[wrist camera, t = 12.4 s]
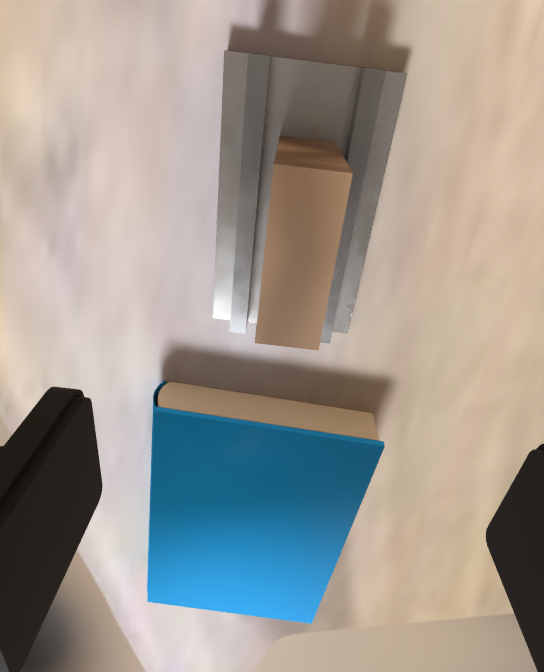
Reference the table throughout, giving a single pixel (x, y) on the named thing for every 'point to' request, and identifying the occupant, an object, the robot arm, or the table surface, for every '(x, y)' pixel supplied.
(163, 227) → the table surface
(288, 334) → the door panel
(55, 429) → the robot arm
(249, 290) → the floor track
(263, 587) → the book
